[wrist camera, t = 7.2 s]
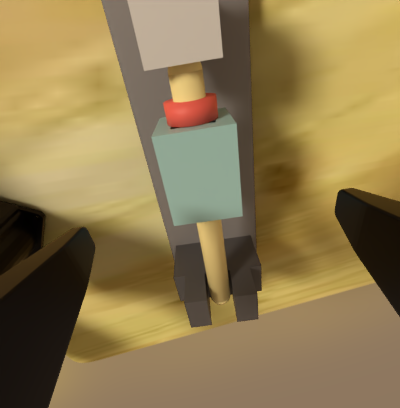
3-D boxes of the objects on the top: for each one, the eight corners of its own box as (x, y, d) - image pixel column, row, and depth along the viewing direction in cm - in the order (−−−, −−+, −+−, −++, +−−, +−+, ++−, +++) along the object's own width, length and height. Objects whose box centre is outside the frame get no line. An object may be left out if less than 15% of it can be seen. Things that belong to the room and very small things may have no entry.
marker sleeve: (231, 184, 16) (242, 216, 13) (176, 192, 17) (174, 226, 13) (225, 107, 14) (236, 123, 11) (159, 117, 14) (151, 137, 11)
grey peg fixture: (253, 249, 25) (276, 316, 19) (177, 260, 25) (173, 329, 19) (242, -46, 13) (291, -137, 7) (101, -19, 14) (25, -84, 7)
